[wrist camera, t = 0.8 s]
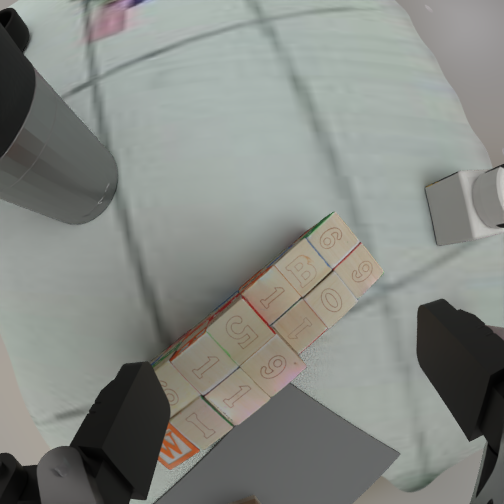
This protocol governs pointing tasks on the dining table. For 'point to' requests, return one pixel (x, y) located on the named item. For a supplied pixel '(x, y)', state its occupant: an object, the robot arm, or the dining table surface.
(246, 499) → the wooden block
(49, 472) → the robot arm
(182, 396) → the stack of blocks
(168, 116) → the dining table surface
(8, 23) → the mug
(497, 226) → the medicine bottle
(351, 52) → the dining table surface
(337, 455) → the mat
